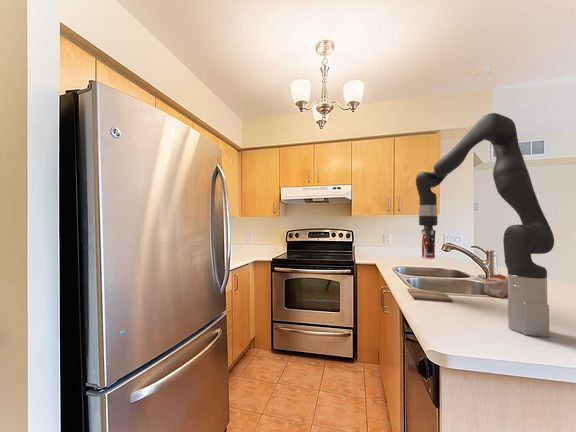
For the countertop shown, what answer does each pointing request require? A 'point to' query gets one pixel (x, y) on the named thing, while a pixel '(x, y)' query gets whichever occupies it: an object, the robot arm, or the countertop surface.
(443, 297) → the walnut board
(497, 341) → the countertop surface
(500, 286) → the food item
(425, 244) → the soda can
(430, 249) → the robot arm
